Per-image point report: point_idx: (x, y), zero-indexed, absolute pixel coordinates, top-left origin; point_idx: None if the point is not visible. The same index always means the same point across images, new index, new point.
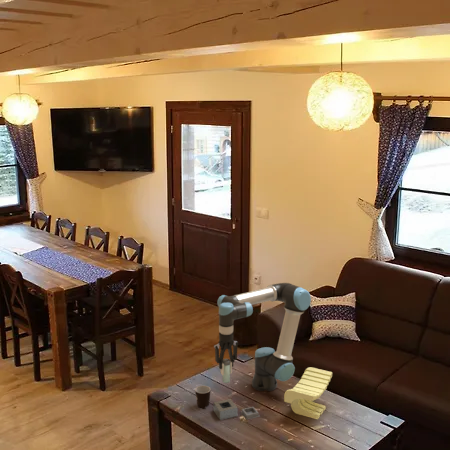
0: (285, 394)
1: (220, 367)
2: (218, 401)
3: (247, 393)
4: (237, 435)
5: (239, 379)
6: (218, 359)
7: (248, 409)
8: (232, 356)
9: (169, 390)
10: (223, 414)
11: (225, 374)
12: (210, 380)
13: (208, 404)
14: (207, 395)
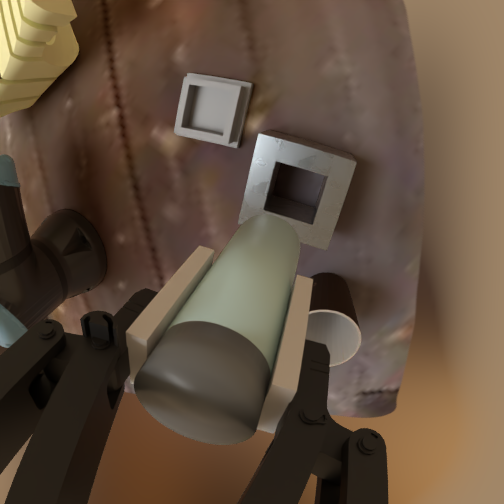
0: (49, 8)
1: (322, 363)
2: (300, 241)
3: (136, 248)
4: (355, 27)
5: None
6: (363, 493)
7: (201, 130)
8: (61, 398)
9: (340, 409)
10: (338, 153)
11: (280, 267)
12: None
13: (314, 279)
14: (325, 301)
